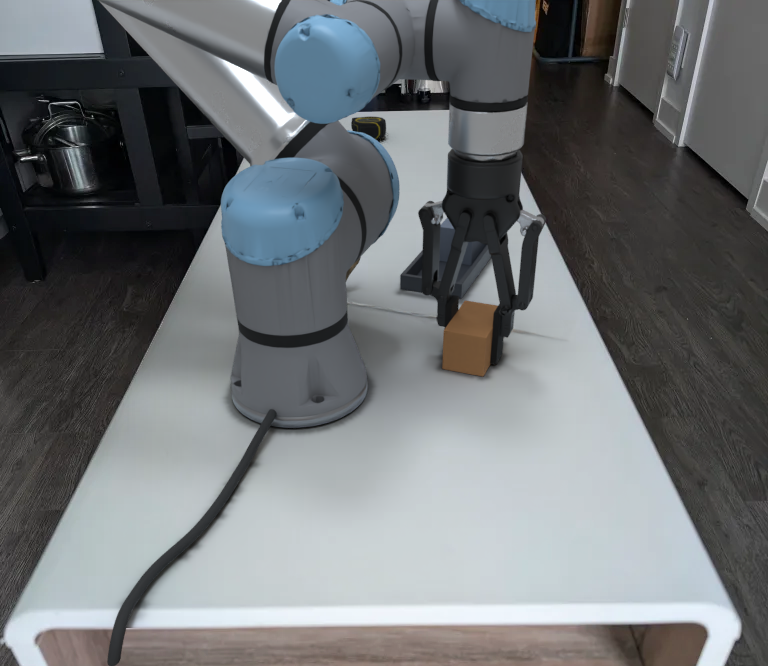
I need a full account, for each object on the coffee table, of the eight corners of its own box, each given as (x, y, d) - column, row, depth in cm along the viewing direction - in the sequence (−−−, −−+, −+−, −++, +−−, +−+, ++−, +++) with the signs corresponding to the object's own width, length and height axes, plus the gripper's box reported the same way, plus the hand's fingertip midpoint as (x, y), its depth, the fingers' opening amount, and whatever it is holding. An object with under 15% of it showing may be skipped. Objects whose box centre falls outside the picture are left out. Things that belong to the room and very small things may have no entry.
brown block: (483, 376, 92) (486, 337, 88) (442, 369, 93) (443, 330, 90) (502, 344, 97) (505, 306, 94) (462, 337, 99) (464, 300, 95)
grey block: (471, 265, 113) (472, 231, 110) (437, 260, 115) (438, 226, 112) (486, 244, 119) (489, 211, 116) (455, 240, 120) (456, 206, 117)
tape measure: (384, 133, 165) (384, 113, 162) (387, 142, 159) (387, 122, 157) (351, 134, 164) (350, 115, 162) (353, 144, 159) (352, 124, 157)
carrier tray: (461, 302, 106) (461, 284, 104) (400, 292, 108) (400, 274, 107) (501, 246, 120) (502, 229, 118) (446, 238, 122) (446, 222, 121)
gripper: (582, 146, 80) (554, 352, 95) (413, 130, 85) (412, 328, 100) (566, 170, 74) (539, 384, 90) (388, 151, 80) (391, 356, 95)
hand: (472, 354), depth 95 cm, fingers closed on brown block, 5 cm apart
